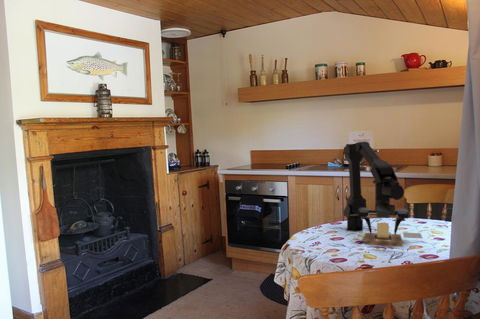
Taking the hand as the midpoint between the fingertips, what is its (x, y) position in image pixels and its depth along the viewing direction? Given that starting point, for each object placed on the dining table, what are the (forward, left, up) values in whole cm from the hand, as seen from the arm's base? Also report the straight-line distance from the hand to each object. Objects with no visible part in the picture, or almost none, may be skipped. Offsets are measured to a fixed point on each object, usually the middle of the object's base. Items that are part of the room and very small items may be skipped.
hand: (382, 233), depth 165 cm
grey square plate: (+12, +11, -4) cm, 17 cm away
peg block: (0, 0, -4) cm, 4 cm away
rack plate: (0, 0, -4) cm, 4 cm away
